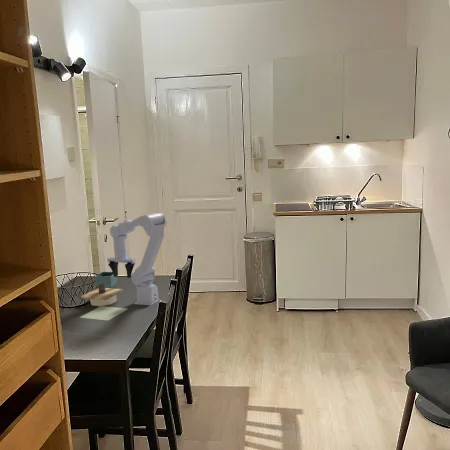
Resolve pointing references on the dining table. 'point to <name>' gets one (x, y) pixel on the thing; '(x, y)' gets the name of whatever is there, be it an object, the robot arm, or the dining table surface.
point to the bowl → (103, 301)
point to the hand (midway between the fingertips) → (122, 276)
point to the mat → (103, 313)
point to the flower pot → (106, 279)
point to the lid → (102, 293)
